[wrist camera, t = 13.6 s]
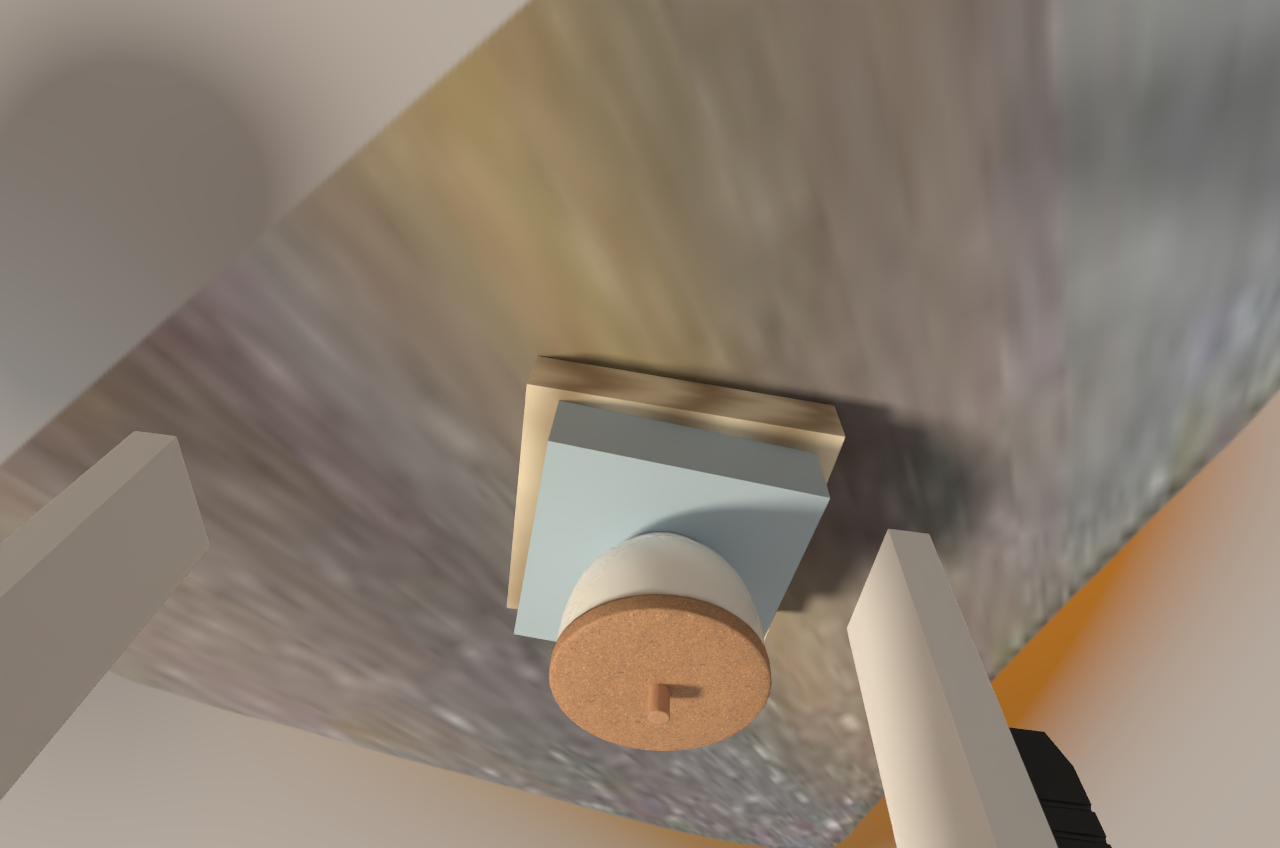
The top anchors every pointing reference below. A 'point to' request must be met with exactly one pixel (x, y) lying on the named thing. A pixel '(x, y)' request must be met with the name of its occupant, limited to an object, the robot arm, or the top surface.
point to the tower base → (662, 402)
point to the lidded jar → (660, 647)
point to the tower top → (665, 505)
